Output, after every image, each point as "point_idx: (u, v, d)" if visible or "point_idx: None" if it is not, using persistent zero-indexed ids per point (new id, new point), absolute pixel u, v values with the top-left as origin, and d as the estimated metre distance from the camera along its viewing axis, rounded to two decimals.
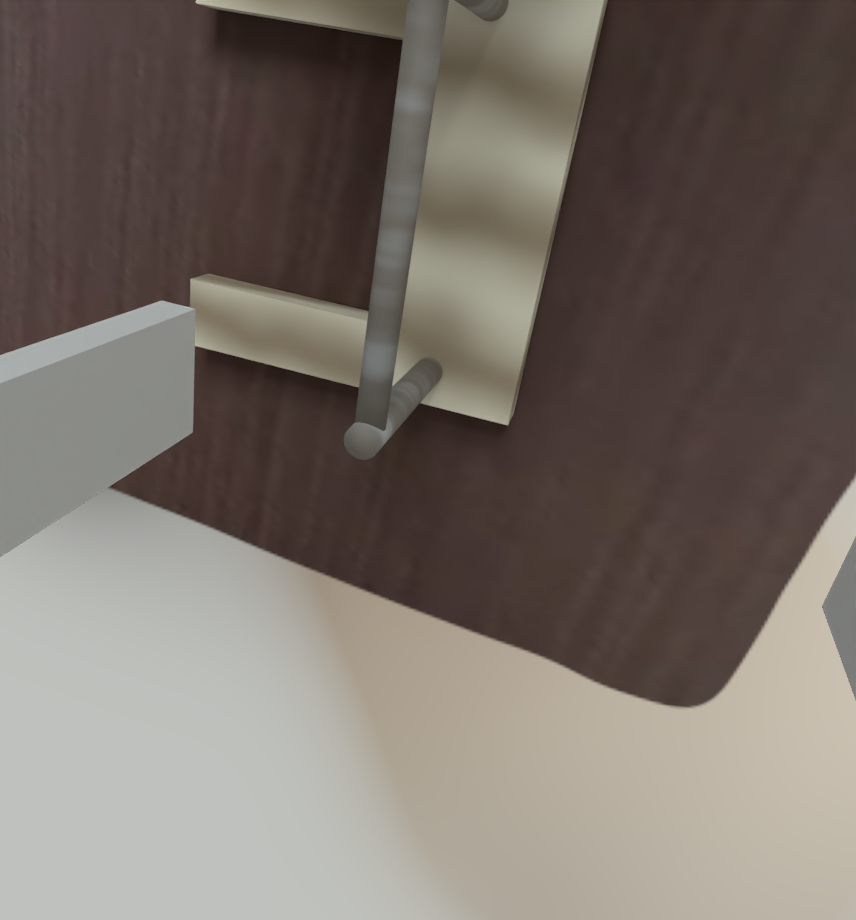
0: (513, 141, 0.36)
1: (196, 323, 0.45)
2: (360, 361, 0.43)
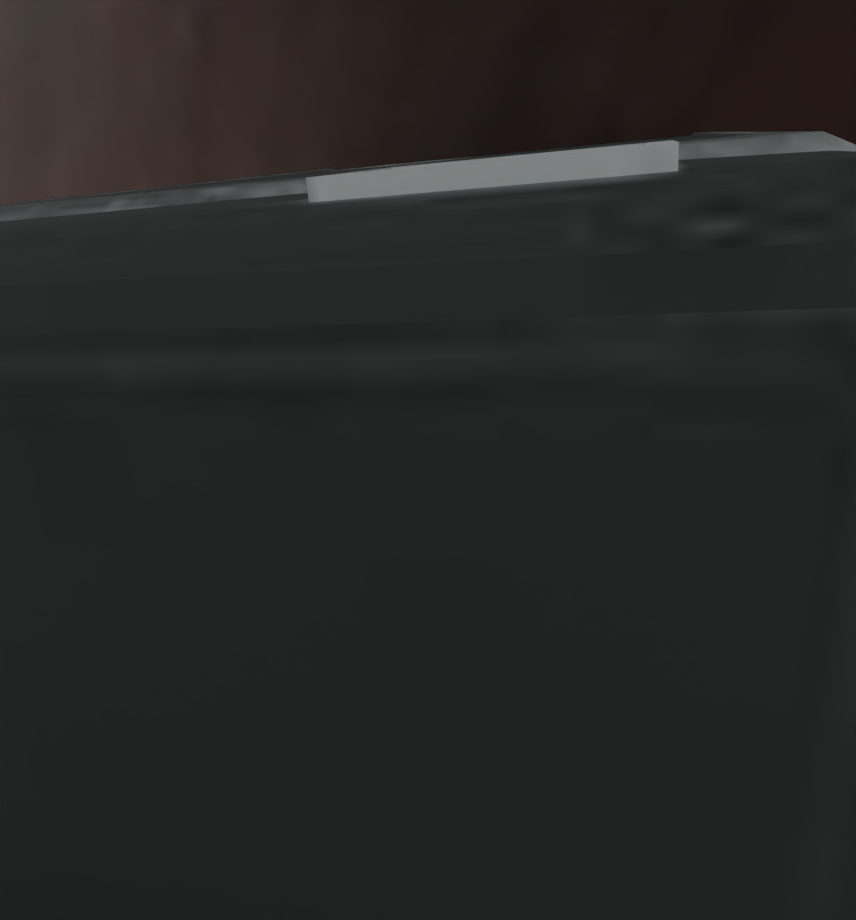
0: None
1: None
2: None
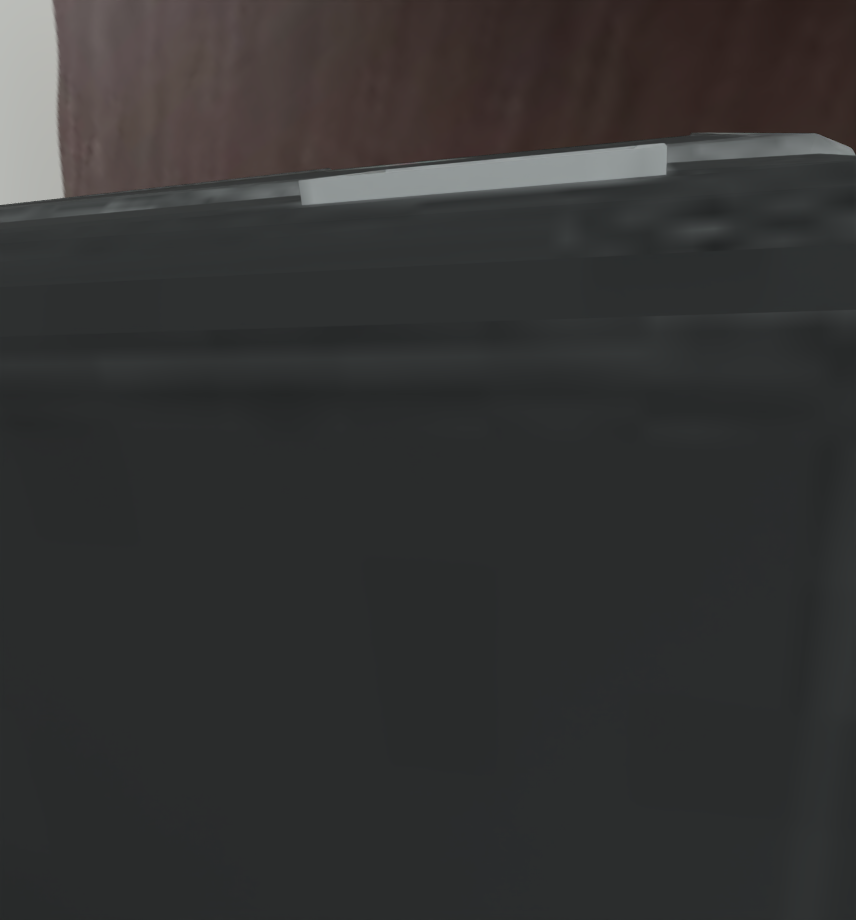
0: None
1: None
2: None
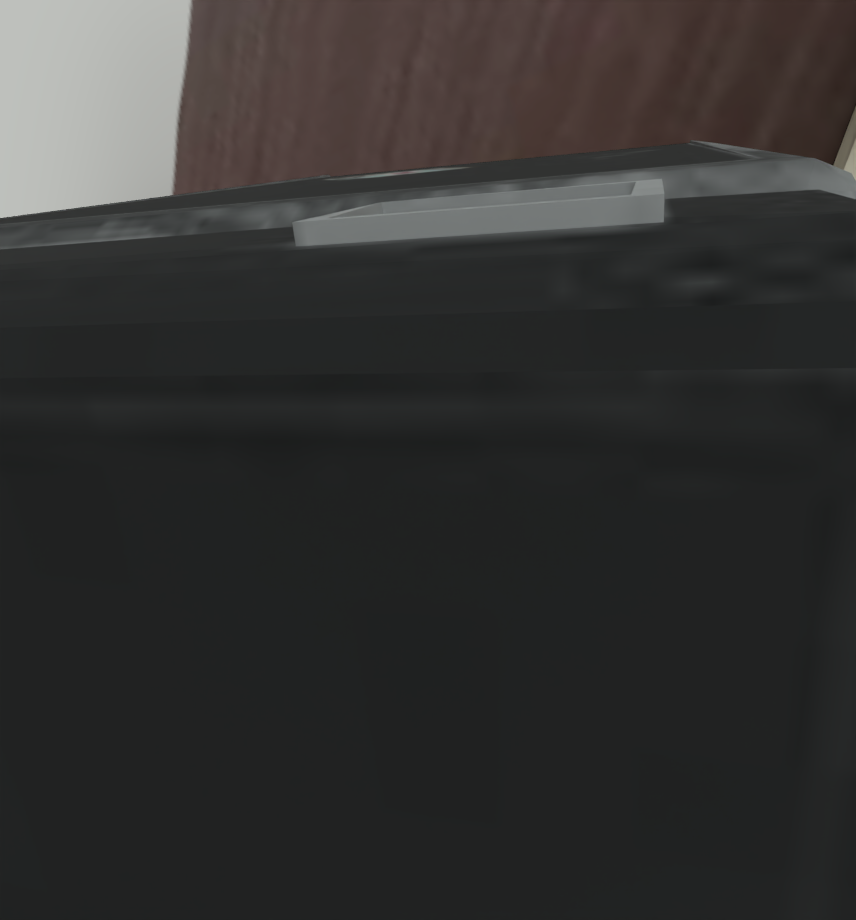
0: None
1: None
2: None
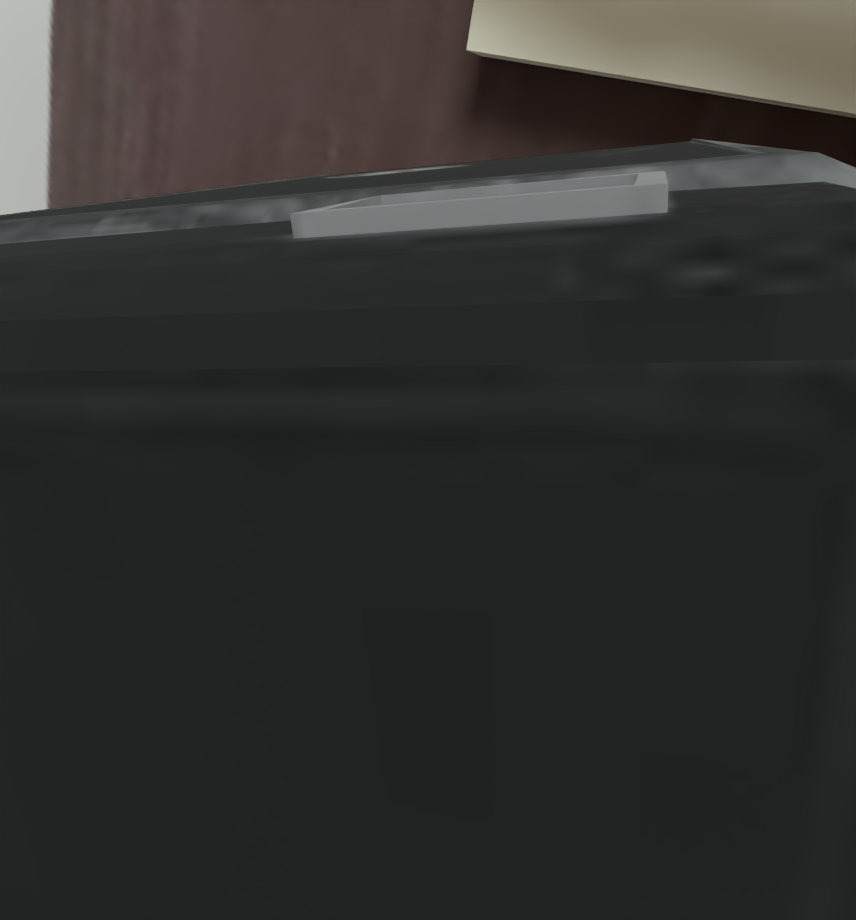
0: None
1: None
2: None
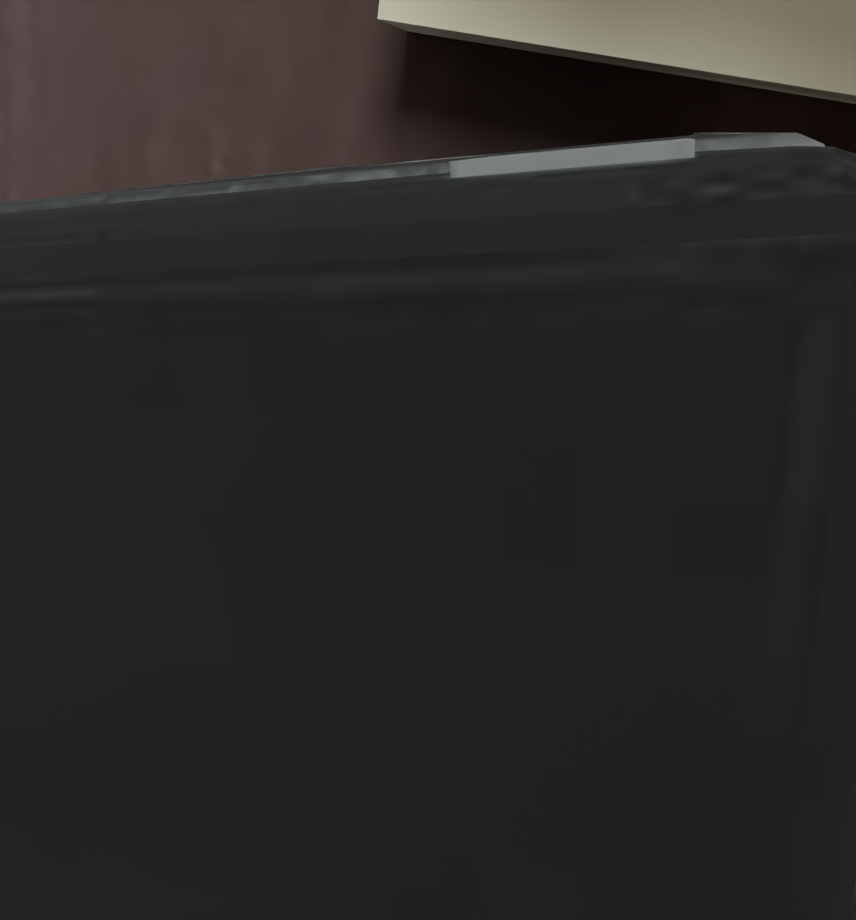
0: None
1: None
2: None
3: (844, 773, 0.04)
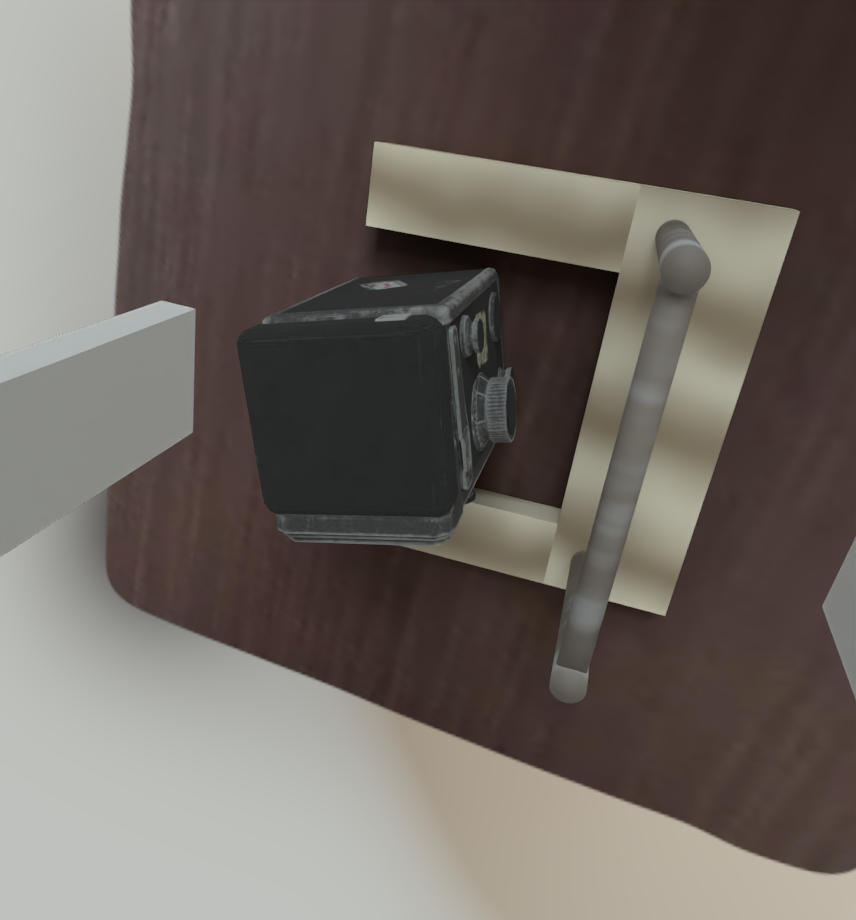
0: (687, 361, 0.37)
1: None
2: (513, 551, 0.43)
3: (433, 404, 0.27)
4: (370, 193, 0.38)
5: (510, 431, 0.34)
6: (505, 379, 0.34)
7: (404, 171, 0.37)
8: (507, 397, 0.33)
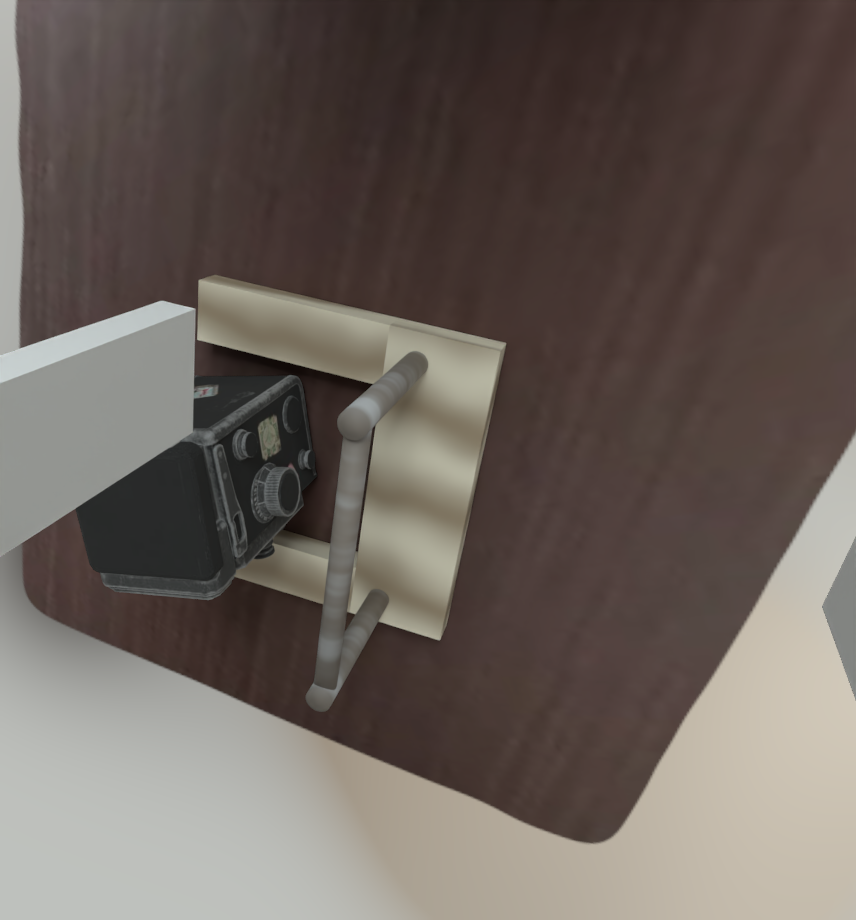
0: (435, 453, 0.48)
1: None
2: None
3: (193, 506, 0.39)
4: (198, 316, 0.49)
5: (286, 509, 0.45)
6: (282, 470, 0.45)
7: (222, 303, 0.48)
8: (281, 485, 0.45)
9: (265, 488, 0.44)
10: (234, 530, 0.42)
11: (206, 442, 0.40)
